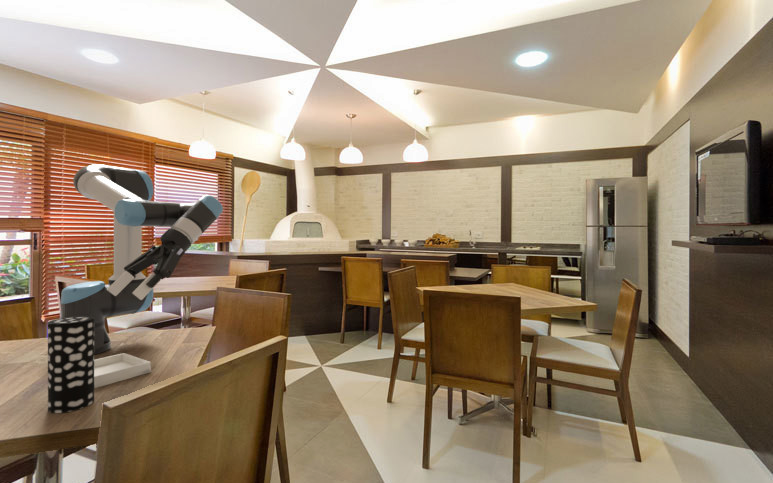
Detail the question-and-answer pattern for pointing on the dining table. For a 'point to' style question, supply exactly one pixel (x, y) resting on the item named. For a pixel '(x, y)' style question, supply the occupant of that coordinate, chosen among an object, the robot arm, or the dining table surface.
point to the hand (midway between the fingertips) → (123, 294)
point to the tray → (118, 368)
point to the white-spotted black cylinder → (70, 363)
